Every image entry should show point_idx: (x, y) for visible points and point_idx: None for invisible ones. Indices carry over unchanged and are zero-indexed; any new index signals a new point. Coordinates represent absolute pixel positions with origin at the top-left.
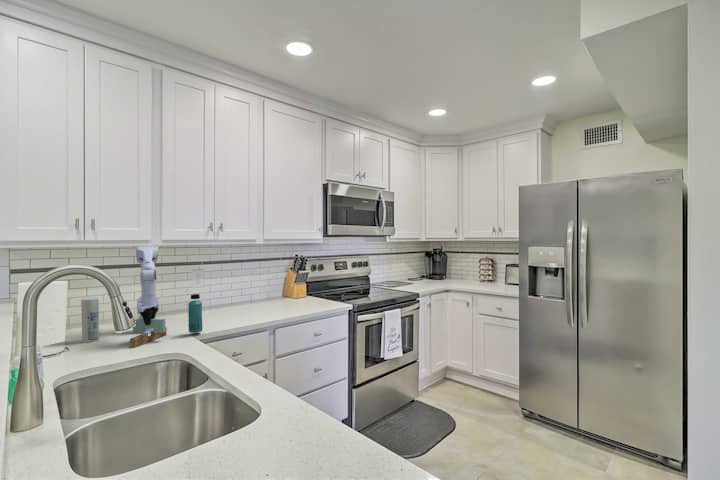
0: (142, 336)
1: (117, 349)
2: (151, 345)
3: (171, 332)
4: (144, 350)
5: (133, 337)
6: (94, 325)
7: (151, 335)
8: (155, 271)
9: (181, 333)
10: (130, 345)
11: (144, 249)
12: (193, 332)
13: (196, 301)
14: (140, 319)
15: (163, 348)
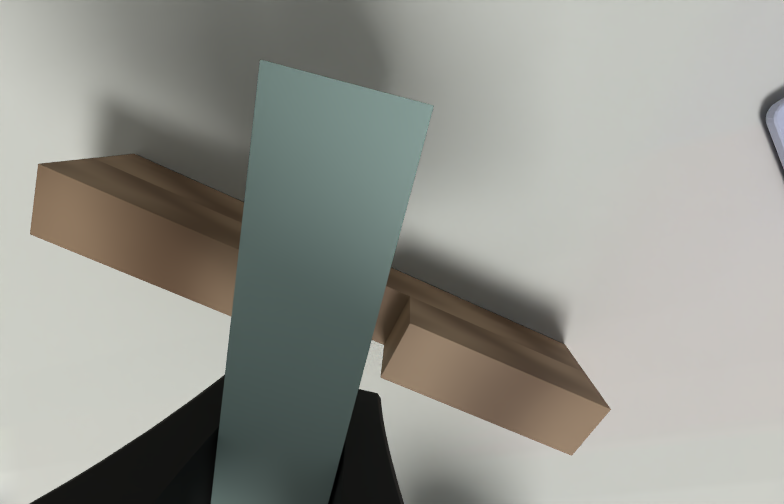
0: (167, 284)
1: (66, 25)
2: (186, 331)
3: (646, 404)
4: (35, 313)
5: (85, 194)
6: None
7: (402, 306)
8: None
9: (551, 483)
10: (117, 157)
11: None
12: None
13: None
14: (319, 309)
15: (89, 432)
